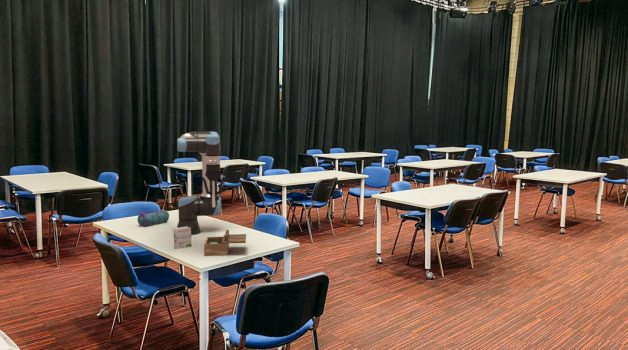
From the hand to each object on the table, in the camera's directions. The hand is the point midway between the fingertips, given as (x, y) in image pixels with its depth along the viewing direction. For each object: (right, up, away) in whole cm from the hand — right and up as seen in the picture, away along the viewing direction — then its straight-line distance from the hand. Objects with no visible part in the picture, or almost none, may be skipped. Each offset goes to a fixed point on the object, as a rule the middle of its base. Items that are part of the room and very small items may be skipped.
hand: (213, 206), depth 260 cm
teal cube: (-1, -24, +3) cm, 24 cm away
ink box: (-20, -24, +10) cm, 33 cm away
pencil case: (-57, -17, +71) cm, 93 cm away
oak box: (+2, -25, +1) cm, 25 cm away
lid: (+11, -18, +1) cm, 21 cm away
